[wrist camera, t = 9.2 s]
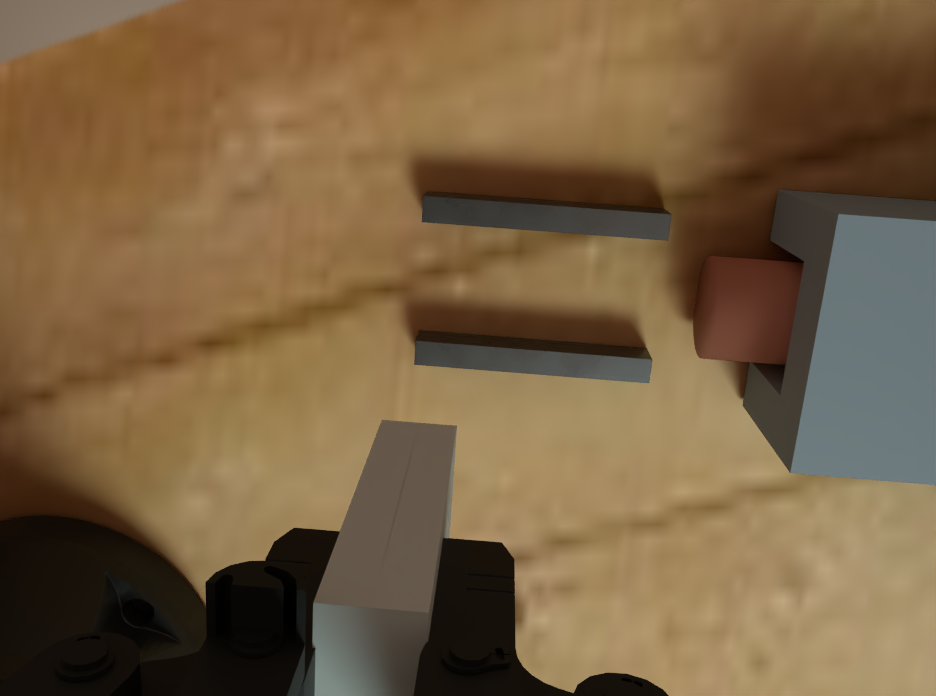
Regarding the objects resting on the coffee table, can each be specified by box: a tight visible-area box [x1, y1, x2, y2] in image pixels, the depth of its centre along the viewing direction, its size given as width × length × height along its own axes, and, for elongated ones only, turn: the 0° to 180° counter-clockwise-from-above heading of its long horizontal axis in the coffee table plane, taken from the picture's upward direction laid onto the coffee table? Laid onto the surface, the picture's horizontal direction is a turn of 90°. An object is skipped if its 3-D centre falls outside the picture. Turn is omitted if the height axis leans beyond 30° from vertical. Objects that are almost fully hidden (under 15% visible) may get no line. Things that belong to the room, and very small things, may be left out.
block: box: [743, 190, 936, 485], centre depth 33 cm, size 9×9×7 cm
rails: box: [414, 191, 672, 383], centre depth 36 cm, size 10×7×2 cm
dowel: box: [693, 256, 804, 365], centre depth 35 cm, size 10×4×4 cm, turn 86°
